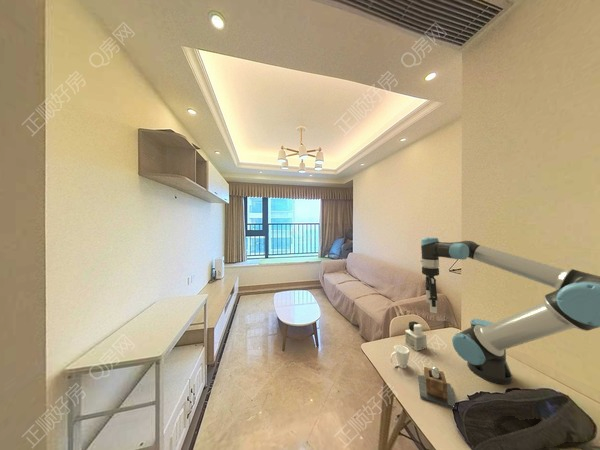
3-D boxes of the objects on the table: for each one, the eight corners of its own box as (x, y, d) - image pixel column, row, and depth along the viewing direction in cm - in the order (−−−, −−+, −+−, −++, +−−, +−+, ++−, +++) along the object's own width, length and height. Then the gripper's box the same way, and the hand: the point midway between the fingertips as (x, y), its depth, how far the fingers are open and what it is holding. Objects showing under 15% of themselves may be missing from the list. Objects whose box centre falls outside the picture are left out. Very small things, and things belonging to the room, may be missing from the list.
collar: (443, 385, 82) (443, 371, 82) (447, 399, 76) (447, 384, 76) (424, 380, 85) (424, 366, 85) (426, 392, 79) (426, 378, 79)
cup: (413, 368, 94) (413, 351, 94) (396, 372, 91) (395, 355, 91) (402, 358, 101) (402, 343, 101) (386, 362, 98) (385, 346, 98)
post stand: (450, 386, 83) (449, 362, 83) (457, 410, 72) (457, 382, 72) (417, 377, 88) (417, 354, 88) (420, 398, 78) (419, 372, 78)
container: (405, 343, 114) (404, 321, 114) (415, 340, 116) (414, 319, 116) (416, 351, 106) (415, 327, 106) (427, 348, 109) (426, 325, 109)
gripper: (419, 262, 113) (420, 297, 113) (425, 271, 91) (426, 316, 91) (434, 262, 110) (435, 299, 110) (444, 273, 88) (445, 319, 88)
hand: (431, 307), depth 101 cm, fingers open, 13 cm apart
